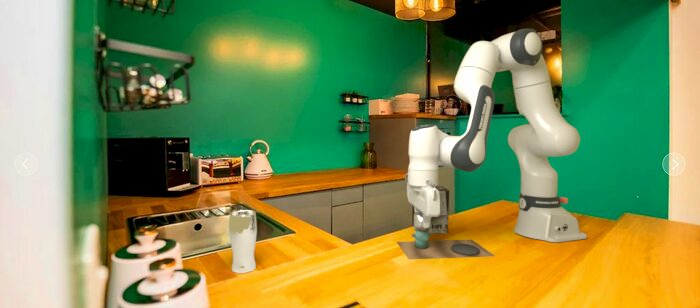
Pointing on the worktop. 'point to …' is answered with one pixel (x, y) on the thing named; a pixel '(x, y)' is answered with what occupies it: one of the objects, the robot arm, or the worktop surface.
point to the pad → (465, 249)
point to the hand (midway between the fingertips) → (422, 223)
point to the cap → (419, 222)
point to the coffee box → (441, 213)
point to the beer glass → (243, 239)
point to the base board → (436, 247)
